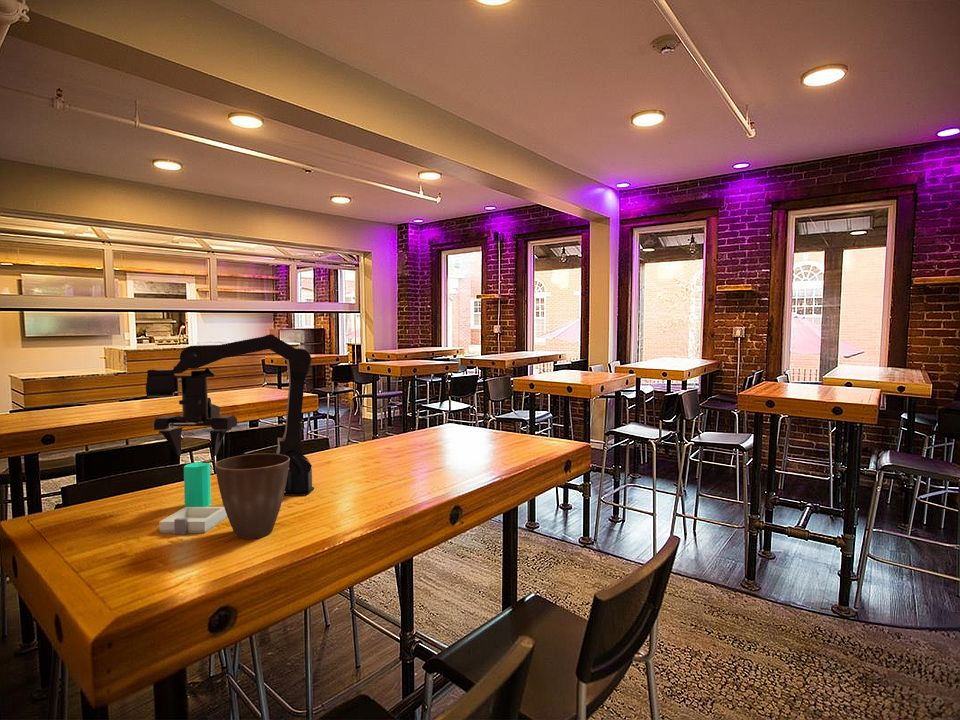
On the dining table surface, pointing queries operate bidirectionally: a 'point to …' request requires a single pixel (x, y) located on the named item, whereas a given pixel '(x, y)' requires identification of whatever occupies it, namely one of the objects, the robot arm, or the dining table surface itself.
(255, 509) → the plant pot
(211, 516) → the white square tray
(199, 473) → the candle
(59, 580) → the dining table surface
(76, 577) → the dining table surface
